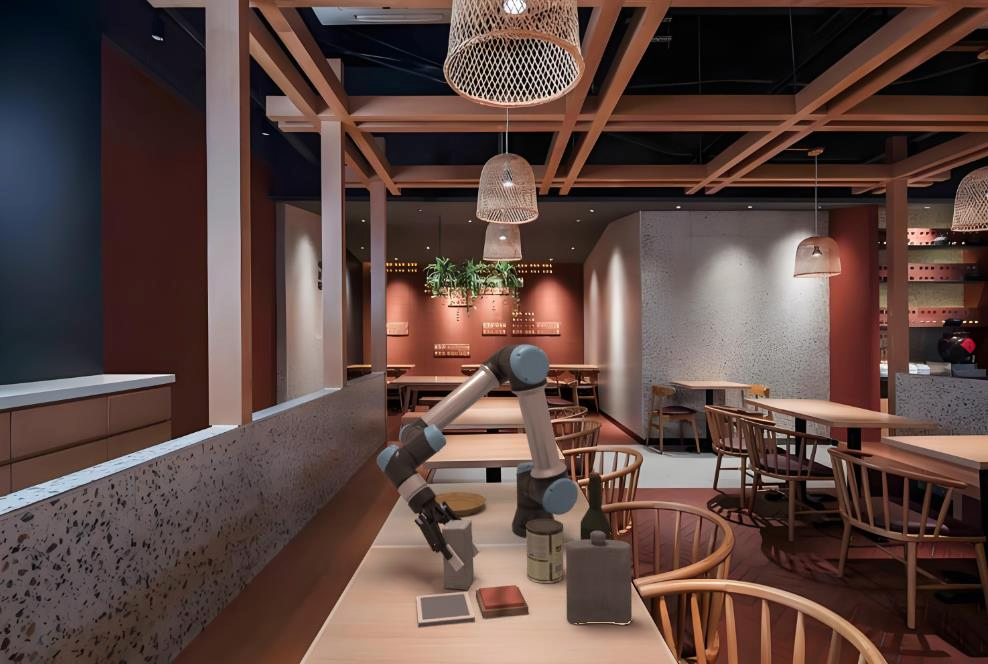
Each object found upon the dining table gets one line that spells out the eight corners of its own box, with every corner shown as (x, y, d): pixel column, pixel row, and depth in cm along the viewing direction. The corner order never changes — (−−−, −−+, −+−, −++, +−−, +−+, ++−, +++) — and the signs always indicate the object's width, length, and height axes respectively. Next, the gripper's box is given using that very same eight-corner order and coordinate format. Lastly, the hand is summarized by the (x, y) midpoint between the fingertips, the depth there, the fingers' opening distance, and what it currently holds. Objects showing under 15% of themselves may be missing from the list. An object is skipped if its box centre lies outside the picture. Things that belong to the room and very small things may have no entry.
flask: (628, 613, 130) (627, 528, 130) (633, 626, 124) (633, 537, 124) (565, 612, 131) (564, 528, 131) (567, 625, 125) (566, 537, 125)
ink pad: (518, 592, 141) (518, 583, 141) (528, 613, 130) (528, 603, 130) (475, 596, 139) (475, 587, 139) (482, 618, 128) (482, 608, 128)
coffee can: (531, 566, 157) (531, 516, 158) (567, 570, 154) (566, 520, 154) (521, 581, 148) (521, 528, 148) (559, 586, 144) (558, 532, 145)
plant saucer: (412, 516, 204) (412, 507, 204) (437, 497, 227) (437, 489, 227) (473, 522, 197) (473, 512, 197) (493, 502, 220) (493, 494, 220)
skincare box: (467, 591, 142) (467, 529, 142) (441, 588, 143) (440, 528, 143) (475, 577, 150) (474, 519, 150) (450, 575, 152) (449, 517, 152)
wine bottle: (605, 598, 137) (604, 479, 138) (574, 590, 142) (573, 474, 142) (616, 585, 144) (615, 472, 145) (587, 578, 149) (586, 468, 149)
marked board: (467, 595, 140) (467, 591, 140) (474, 621, 127) (474, 617, 127) (416, 600, 137) (416, 596, 137) (418, 627, 124) (418, 622, 124)
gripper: (430, 492, 163) (478, 554, 156) (386, 514, 143) (439, 586, 137) (445, 476, 161) (494, 538, 154) (403, 496, 141) (458, 568, 134)
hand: (468, 561), depth 145 cm, fingers closed on skincare box, 9 cm apart
